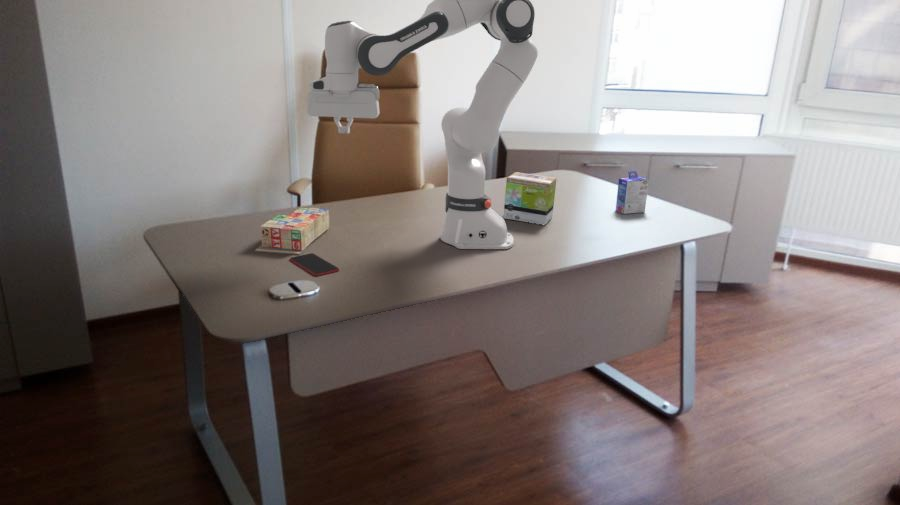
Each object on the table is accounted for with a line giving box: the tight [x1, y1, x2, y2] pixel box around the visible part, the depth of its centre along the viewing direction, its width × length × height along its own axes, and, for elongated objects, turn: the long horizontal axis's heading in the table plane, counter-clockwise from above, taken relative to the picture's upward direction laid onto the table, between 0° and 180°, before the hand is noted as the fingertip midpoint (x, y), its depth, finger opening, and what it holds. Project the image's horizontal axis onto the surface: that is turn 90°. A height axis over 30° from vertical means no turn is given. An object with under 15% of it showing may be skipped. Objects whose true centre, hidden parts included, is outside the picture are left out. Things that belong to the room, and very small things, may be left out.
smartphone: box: [289, 253, 340, 277], centre depth 175 cm, size 7×1×15 cm
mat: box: [254, 244, 310, 256], centre depth 193 cm, size 13×25×1 cm, turn 174°
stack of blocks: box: [260, 207, 330, 251], centre depth 193 cm, size 21×6×12 cm
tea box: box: [503, 171, 557, 226], centre depth 220 cm, size 15×10×15 cm, turn 68°
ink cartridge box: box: [615, 170, 650, 215], centre depth 233 cm, size 10×6×14 cm, turn 114°
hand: (344, 132), depth 185 cm, fingers closed
